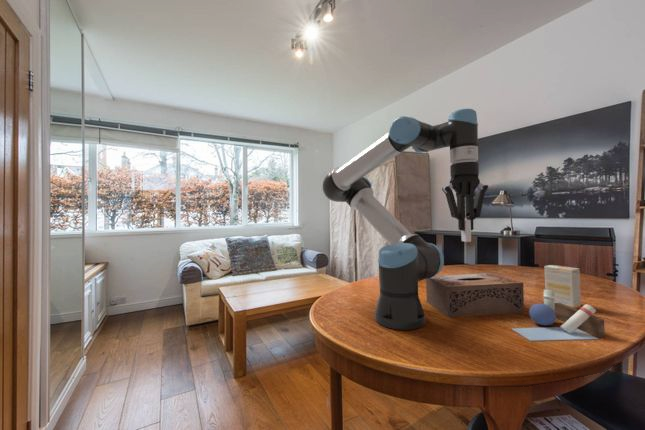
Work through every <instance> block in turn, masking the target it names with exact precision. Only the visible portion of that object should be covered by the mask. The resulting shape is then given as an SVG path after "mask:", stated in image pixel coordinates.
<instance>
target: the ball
mask: <svg viewBox="0 0 645 430" xmlns="http://www.w3.org/2000/svg"><path fill="white" fill-rule="evenodd" d="M528 315H529V316H530V317H529V318H530V319H531V320H532V321H533V322H534V323H536V324H537V325H540V326H543V327H547V326H551V325H553V324H555V323H556V320H557V318H556V314H555V312H554V310H553V309H552V308H551V307H549V306H548V305H545V304H544V303H534V304H533V305H531V307H530V308H529V309H528ZM554 322H555V323H554Z"/></svg>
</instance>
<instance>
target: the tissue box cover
mask: <svg viewBox="0 0 645 430" xmlns="http://www.w3.org/2000/svg"><path fill="white" fill-rule="evenodd" d="M425 290H426V291H425V292H426V303H427V304H429V305H430V306H431V307H433V308H434V309H436V310H437V311H439V312H440V313H441V314H443V315H444V316H446V317H447V318H454V317H471V316H487V315H488V316H489V315H502V314H517V313H518V314H519V313H525V302H524V299H525V297H524V293H525V292H524V282H522V281H519V280H516V279H513V278H510V277H506V276H504V275H500V274H496V273H494V272H483V273H465V274H464V273H463V274H462V273H461V274H460V273H459V274H445V275H444V274H443V275H435V276H433V277H431V278H427V279H425Z"/></svg>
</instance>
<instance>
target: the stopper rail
mask: <svg viewBox="0 0 645 430" xmlns="http://www.w3.org/2000/svg"><path fill="white" fill-rule="evenodd" d="M578 310H579V308H576V309H575V308H572V307H570V306H567V305H564V304H562V303H555V314H556V320H559V321H563V323H565V322H566V321H567V320H568V319H569V318H570V317H572V316H573V315H574V314H575V313H576V312H577V311H578ZM605 327H606V326H605V319H603V318H601V317H598V316H595V315H592V316H590V317H589V318H588V319H587V320H586V321H584V322H583V323H582V324H581V325H580V326H579V327H578V328H577V329H579V330H581V331H583V332H585V333H587V334H590V335H592V336H594V337H596V338H605V337H606V336H605V335H606V333H605V332H606V331H605Z"/></svg>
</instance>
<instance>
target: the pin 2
mask: <svg viewBox="0 0 645 430" xmlns="http://www.w3.org/2000/svg"><path fill="white" fill-rule="evenodd" d="M596 312H597V310H596V308H594V307H593V306H592V305H589V304H587V303H586V304H584V305H582V306H581V307H579V308H578V311H577V312H576V313H575V314H574V315H573V316H572V317H570V318H569V319H568V320H567V321H566V322H563V323H562V324H561V325H559V327H561V328H562V329H563V330H564V331H565V332H567V333H569V334H571V333H572V332H573V331H574V330H575V329H579V328H578V327H579V326H580V325H581V324H582V323H583V322H584V321H586V320H587V319H588V318H589V317H590V316H592V315H593V314H595V313H596ZM593 316H594V315H593Z"/></svg>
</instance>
